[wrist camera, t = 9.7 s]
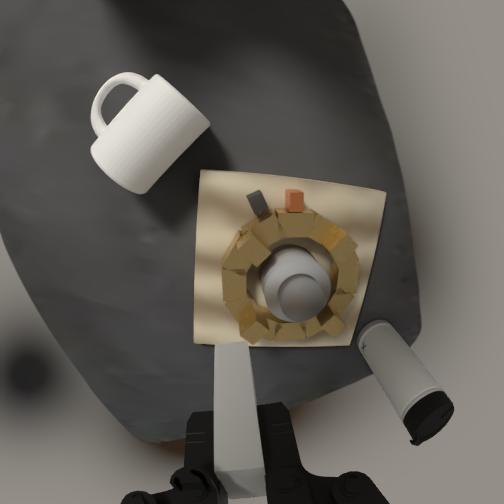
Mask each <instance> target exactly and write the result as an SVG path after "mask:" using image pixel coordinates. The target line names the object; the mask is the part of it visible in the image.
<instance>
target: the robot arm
mask: <svg viewBox="0 0 504 504" xmlns="http://www.w3.org/2000/svg"><path fill="white" fill-rule="evenodd" d="M186 434H187V435H186V444H185V459H184V467H183V468H181V469H179V470H177V471H176V472H175V473H174V474H173V475H172V476H171V479H170V483H171V485H172V486H173V487H174V488H173V489H171V490H168V491H165V492H161V493H156V494H149V493H147V492H144V491H134V492H131V493H129V494H127V495H126V496H125V497H124V499H123V500H122V502H121V504H228V498H229V499H239V498H250V497H260V496H267V502H268V504H389V502H388V501H387V500H386V498H385V497H384V496H383V495H382V493H381V492H380V491H379V489H378V488H377V487H376V485H375V484H374V483H373V481H372V480H371V479H370V478H369V477H368V476H367V475H366V474H364V473H361V472H357V471H354V472H352V471H351V472H347V473H344V474H342V475H340V476H339V477H322V476H316V475H313V474H311V473H309V472H308V471H306V470H305V469H304V467H303V466H302V463H301V460H300V456H299V452H298V448H297V443H296V439H295V435H294V431H293V426H292V423H291V418H290V413H289V410H288V409H287V408H286V407H285V406H284V404H283V403H282V402H278V403H271V404H265V405H257V401H256V393H255V386H254V378H253V372H252V366H251V360H250V353H249V347H248V341H240V342H232V343H224V344H215V365H214V411H204V412H193V413H192V415H191V416H190V418H189V420H188V421H187V430H186Z"/></svg>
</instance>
